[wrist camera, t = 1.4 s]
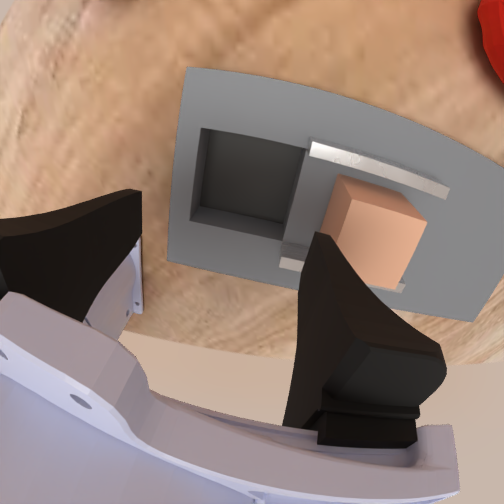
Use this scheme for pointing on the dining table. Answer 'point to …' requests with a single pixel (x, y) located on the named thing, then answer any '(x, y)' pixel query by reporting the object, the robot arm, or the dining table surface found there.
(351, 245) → the block
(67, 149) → the dining table surface
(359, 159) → the rails
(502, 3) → the tomato
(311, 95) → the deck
